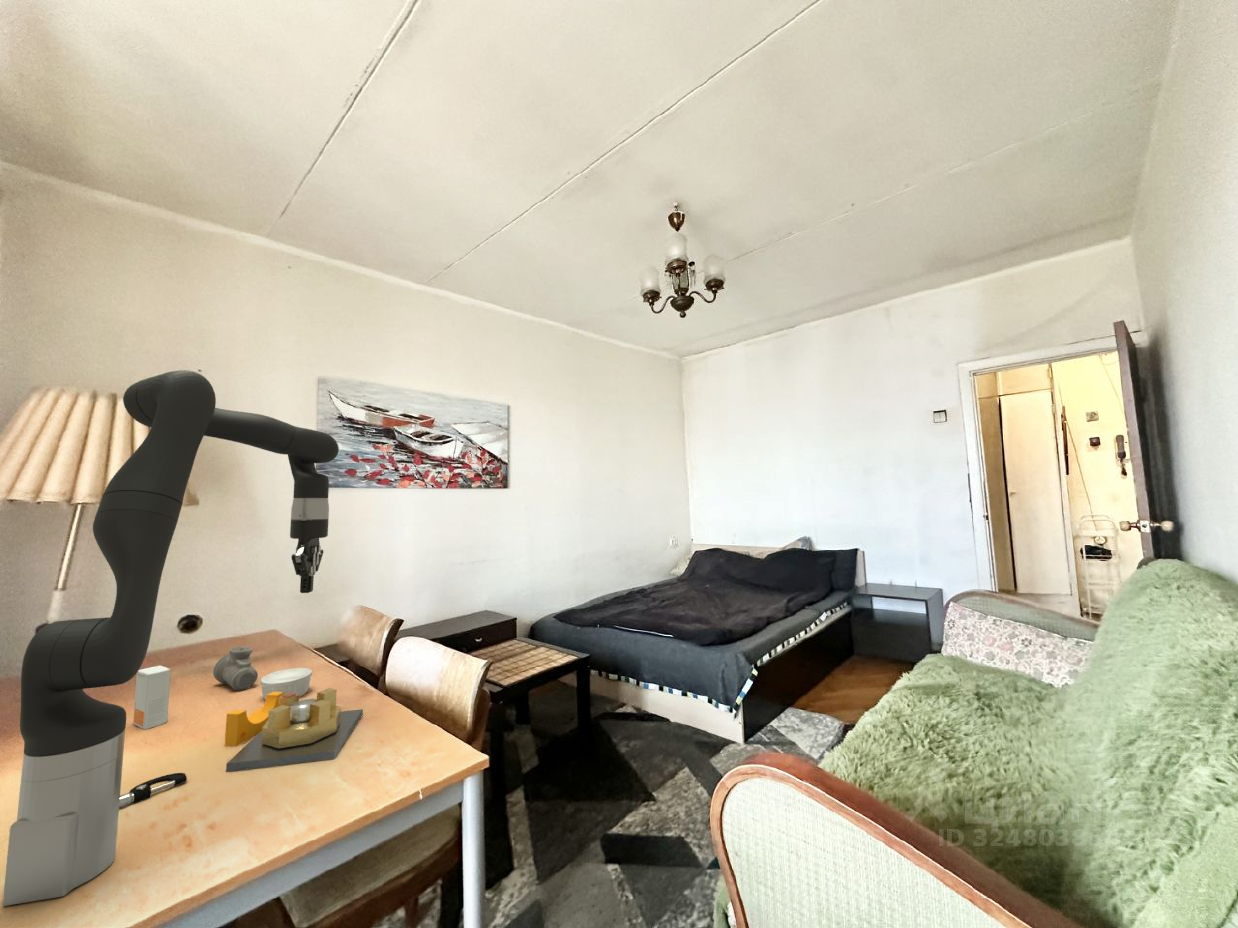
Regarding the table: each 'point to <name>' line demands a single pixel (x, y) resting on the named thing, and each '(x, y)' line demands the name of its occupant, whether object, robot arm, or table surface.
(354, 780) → the table surface
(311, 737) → the ring nut
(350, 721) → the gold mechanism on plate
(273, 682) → the ramekin
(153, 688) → the skincare box
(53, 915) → the table surface
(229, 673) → the pipe fitting
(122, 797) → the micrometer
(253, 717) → the pipe clamp
